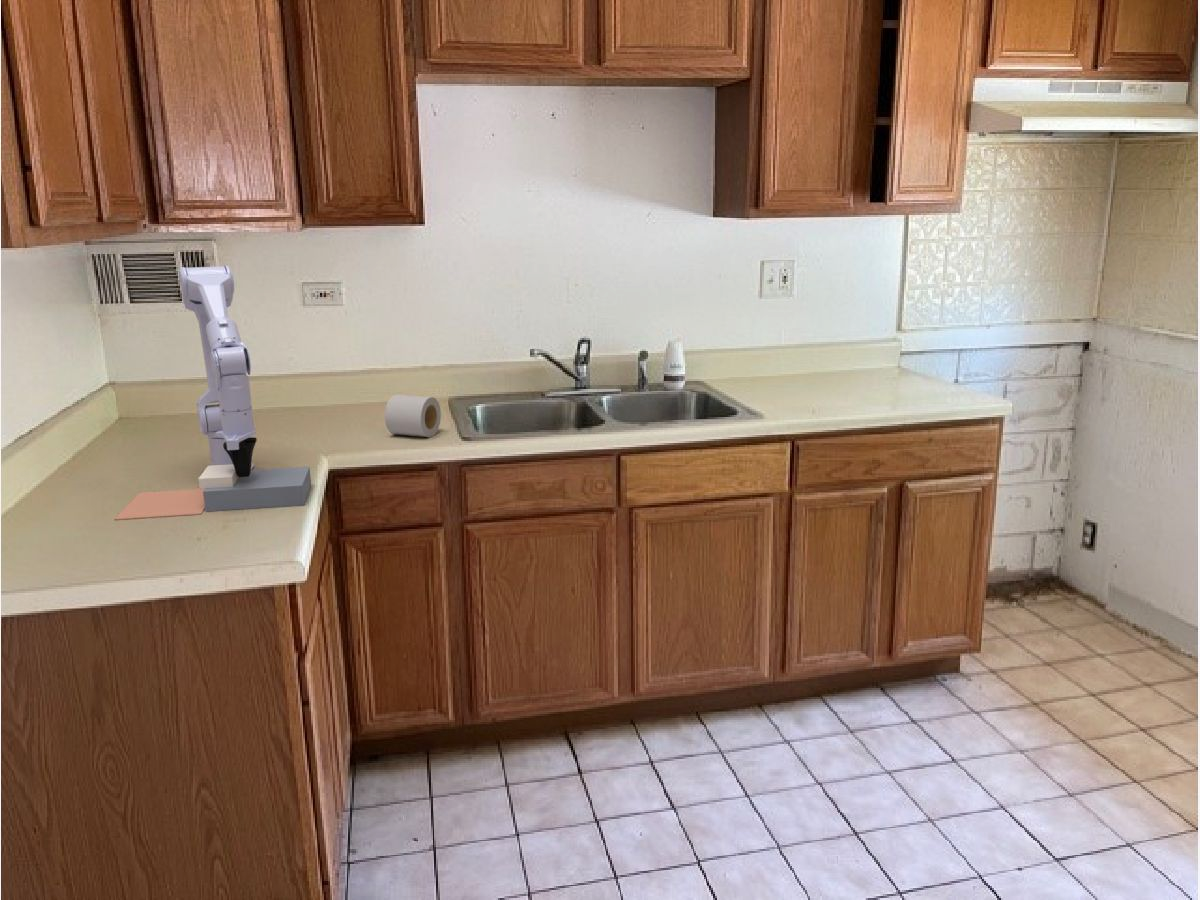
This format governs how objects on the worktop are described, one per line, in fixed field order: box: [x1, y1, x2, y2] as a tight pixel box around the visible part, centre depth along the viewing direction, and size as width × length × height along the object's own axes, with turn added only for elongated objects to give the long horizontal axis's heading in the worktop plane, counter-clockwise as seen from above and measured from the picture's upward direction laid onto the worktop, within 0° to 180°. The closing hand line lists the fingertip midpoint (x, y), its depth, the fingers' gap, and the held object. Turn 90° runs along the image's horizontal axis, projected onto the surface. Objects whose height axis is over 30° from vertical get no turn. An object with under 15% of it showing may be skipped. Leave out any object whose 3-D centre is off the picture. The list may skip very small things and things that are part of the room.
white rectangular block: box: [197, 464, 239, 489], centre depth 176 cm, size 9×6×2 cm, turn 12°
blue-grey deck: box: [203, 466, 312, 513], centre depth 178 cm, size 13×18×4 cm
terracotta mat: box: [114, 488, 205, 521], centre depth 175 cm, size 16×15×1 cm
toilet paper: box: [384, 394, 442, 438], centre depth 225 cm, size 10×10×10 cm
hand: (244, 476), depth 177 cm, fingers closed
